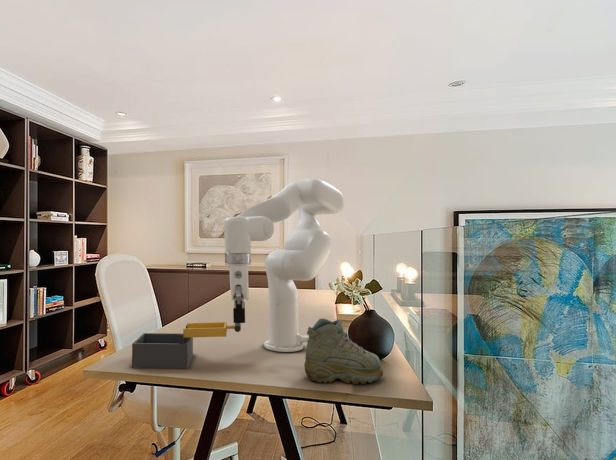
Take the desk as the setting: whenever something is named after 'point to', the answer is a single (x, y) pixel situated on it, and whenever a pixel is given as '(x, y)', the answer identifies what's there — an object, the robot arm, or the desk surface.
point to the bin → (162, 351)
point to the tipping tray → (209, 329)
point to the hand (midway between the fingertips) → (239, 318)
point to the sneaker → (338, 356)
